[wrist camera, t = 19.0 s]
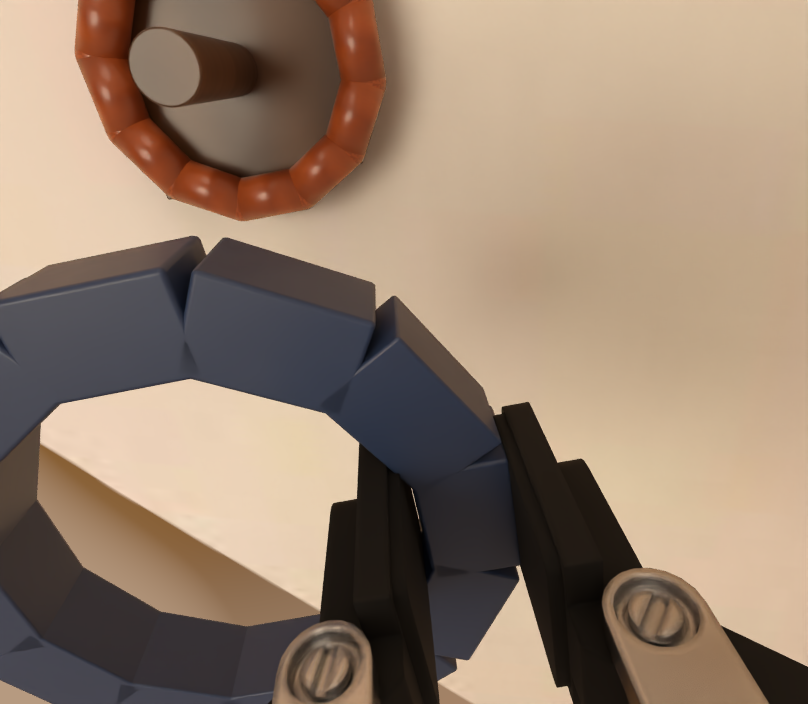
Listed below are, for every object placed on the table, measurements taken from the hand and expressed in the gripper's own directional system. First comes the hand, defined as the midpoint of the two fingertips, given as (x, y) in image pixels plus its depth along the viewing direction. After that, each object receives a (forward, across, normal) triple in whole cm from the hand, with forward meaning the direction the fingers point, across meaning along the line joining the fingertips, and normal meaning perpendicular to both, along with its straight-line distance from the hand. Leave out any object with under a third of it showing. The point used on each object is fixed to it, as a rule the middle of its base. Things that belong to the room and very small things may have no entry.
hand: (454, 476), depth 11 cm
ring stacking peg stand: (+18, +6, -9) cm, 21 cm away
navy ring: (0, +5, 0) cm, 5 cm away
